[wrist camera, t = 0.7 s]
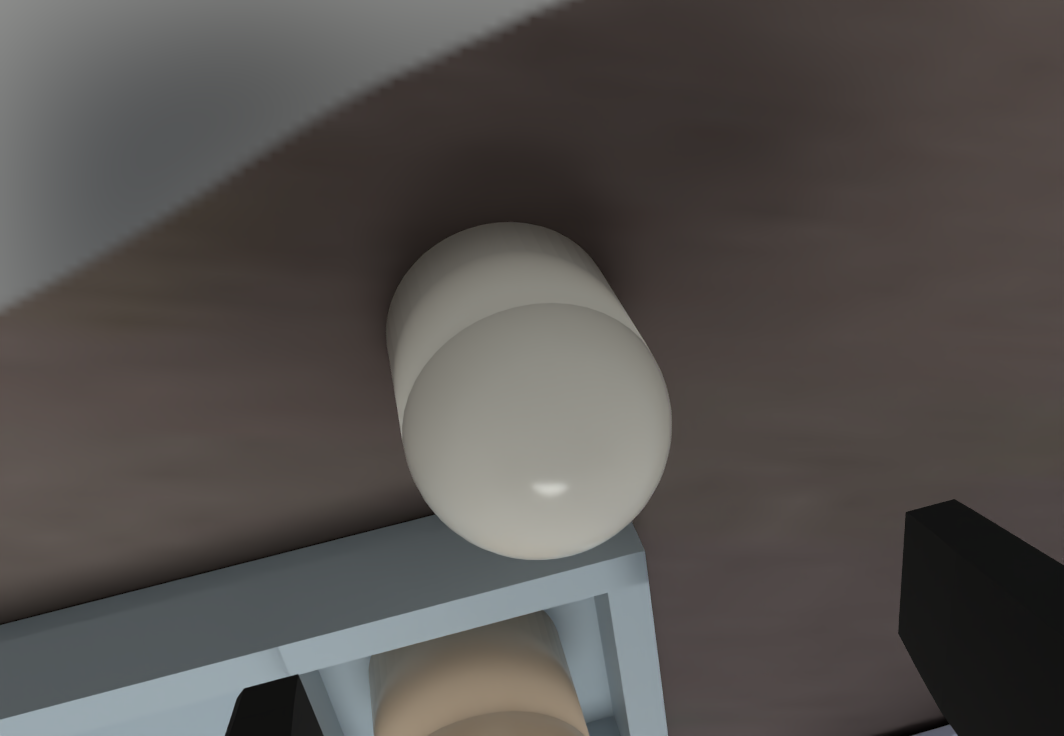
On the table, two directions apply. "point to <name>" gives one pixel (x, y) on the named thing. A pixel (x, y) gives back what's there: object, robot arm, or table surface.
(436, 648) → the brown egg
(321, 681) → the egg carton
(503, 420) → the cream egg
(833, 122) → the table surface
